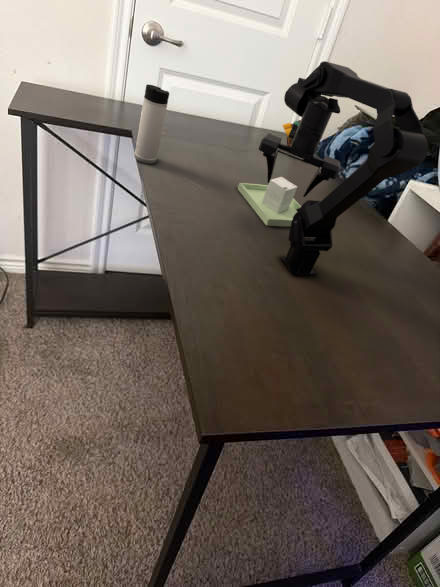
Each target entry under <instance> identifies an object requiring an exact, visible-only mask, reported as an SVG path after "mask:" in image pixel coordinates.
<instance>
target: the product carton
mask: <svg viewBox="0 0 440 587" xmlns="http://www.w3.org/2000/svg"><path fill="white" fill-rule="evenodd" d="M267 185H268V187H267V189H266V192H265V194H264V197H263V199H262V202H261V203H262V204H264V205H265V206H267V207H268V208H270V209H271V210H273V211H274V212H276V213H279V212H282V211H284V210H287V209H288V208H289V206H290V204H291V201H292V199H293V198H294V197H295V194H296V192H297V189H298V186H297V185H295V184H294V183H292V182H291V181H289V180H288V179H286V178H284V177H283V176H280V177H276V178H271V180H270V182H269V183H268V184H267Z"/></svg>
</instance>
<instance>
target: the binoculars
mask: <svg viewBox="0 0 440 587" xmlns="http://www.w3.org/2000/svg"><path fill="white" fill-rule="evenodd" d="M300 121H301V119H298V120H295V121H293V123H291V122H287V123H285V124H284V123H283V124H282V128H283V130H284V132H285V134H286V135H285V137H286V146H289V147H290V146H291V144H292V141H293V139H291V138H289V137H288V136H289V133H290V131H291V128H292V126H293V124H296V125H298V126H299V124H300Z"/></svg>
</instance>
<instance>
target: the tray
mask: <svg viewBox="0 0 440 587" xmlns="http://www.w3.org/2000/svg"><path fill="white" fill-rule="evenodd" d="M267 187H268V184H257V183H246V182H239V183H238V185H237V190H238V191H239V194H241V195H242V197H243V198H244V199H245V201H246V202H247V203H248V204H249V205H250V207H251V208H252V210H254V212H255V214H257V216H258V218H260V220H261V221H262V222H263V223H264V225H265V226H267V227H291V223H292V219H293V217H294V215H295V214H296V213H297V211H296V209H299V208H300V207H301V206H302V205H301V204H299V202H298V201H297V200H296V199H295V198H294V197H293V199H292V201H291V204H290V206H289V208H288V209H287V210H284V211H282V212H279V213H276V212H274V211H273V210H271V209H270V208H268V207H267V206H265V205H264V204H262V203H261V202H262V199H263V197H264V194H265V192H266V189H267Z"/></svg>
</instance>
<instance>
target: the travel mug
mask: <svg viewBox="0 0 440 587" xmlns="http://www.w3.org/2000/svg"><path fill="white" fill-rule="evenodd" d="M169 97H170V92H169V91H168V90H165V89H162V87H159V86H157V85H154V84H148V83H147V84H146V85H145V90H144V96H143V100H142V101H143V102H142V106H141V114H140V118H139V125H138V131H137V138H136V144H135V151H134V155H133V156H134V159H135V160H137V161H138V162H140V163H142V164H146V165H152V164H155V163H157V159H158V154H159V149H160V144H161V139H162V134H163V129H164V125H165V124H164V123H165V118H166V114H167V109H168V104H169Z"/></svg>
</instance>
